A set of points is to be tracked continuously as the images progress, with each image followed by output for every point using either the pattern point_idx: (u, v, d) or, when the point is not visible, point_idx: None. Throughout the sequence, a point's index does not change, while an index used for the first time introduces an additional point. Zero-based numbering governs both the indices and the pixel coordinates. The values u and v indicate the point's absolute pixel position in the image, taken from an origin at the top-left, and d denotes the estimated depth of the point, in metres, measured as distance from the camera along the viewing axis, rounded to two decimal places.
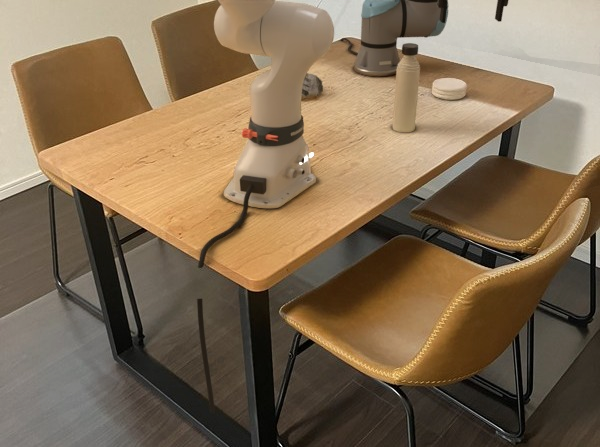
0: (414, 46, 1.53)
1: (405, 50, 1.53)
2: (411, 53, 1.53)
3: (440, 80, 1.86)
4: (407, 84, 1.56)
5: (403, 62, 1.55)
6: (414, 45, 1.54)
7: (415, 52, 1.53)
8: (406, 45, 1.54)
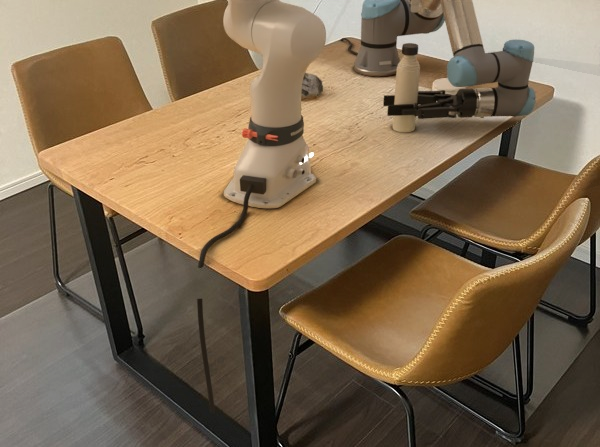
0: (414, 46, 1.53)
1: (405, 50, 1.53)
2: (411, 53, 1.53)
3: (440, 80, 1.86)
4: (407, 84, 1.56)
5: (403, 62, 1.55)
6: (414, 45, 1.54)
7: (415, 52, 1.53)
8: (406, 45, 1.54)
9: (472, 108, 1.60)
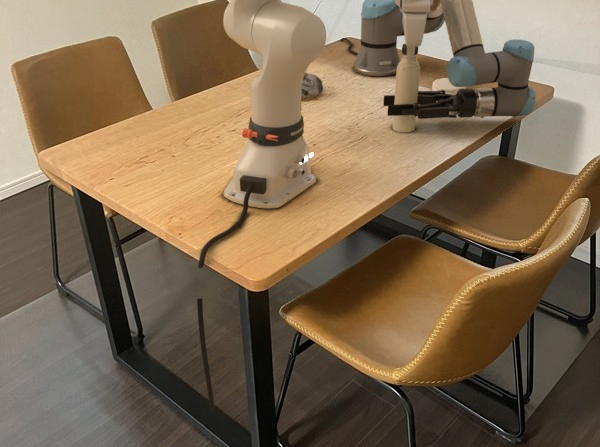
0: None
1: (405, 50, 1.53)
2: None
3: (440, 80, 1.86)
4: (407, 84, 1.56)
5: (403, 62, 1.55)
6: None
7: (415, 51, 1.53)
8: None
9: (472, 108, 1.60)
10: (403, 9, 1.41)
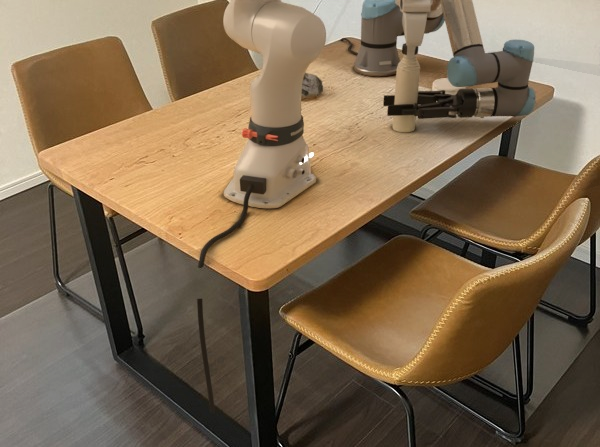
0: None
1: (415, 50, 1.53)
2: None
3: (440, 80, 1.86)
4: (407, 84, 1.56)
5: (403, 62, 1.55)
6: None
7: None
8: None
9: (472, 108, 1.60)
10: (403, 9, 1.41)
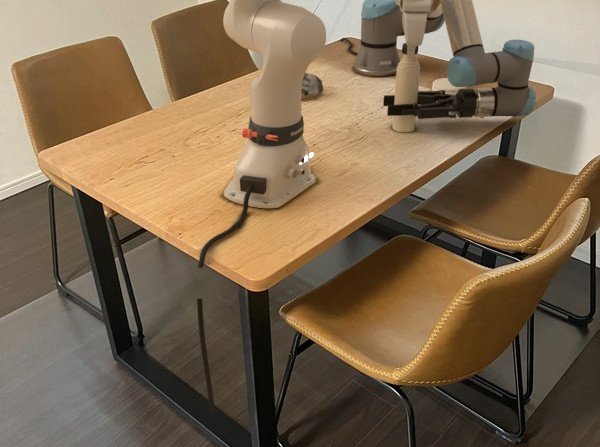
0: None
1: None
2: None
3: (440, 80, 1.86)
4: (407, 84, 1.56)
5: (403, 62, 1.55)
6: None
7: None
8: None
9: (472, 108, 1.60)
10: (404, 9, 1.41)
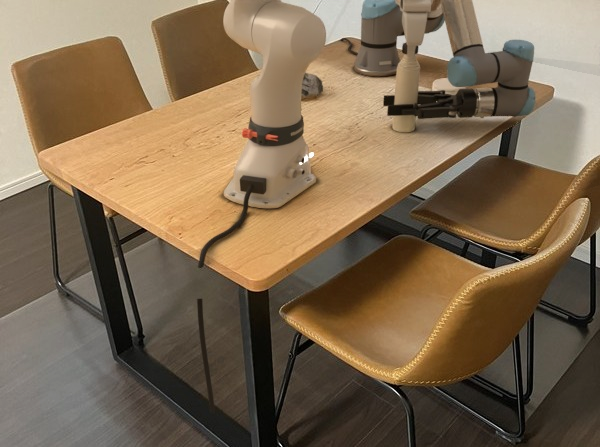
0: (405, 44, 1.54)
1: None
2: None
3: (440, 80, 1.86)
4: (407, 84, 1.56)
5: (403, 62, 1.55)
6: None
7: (402, 49, 1.55)
8: None
9: (472, 108, 1.60)
10: (404, 8, 1.41)
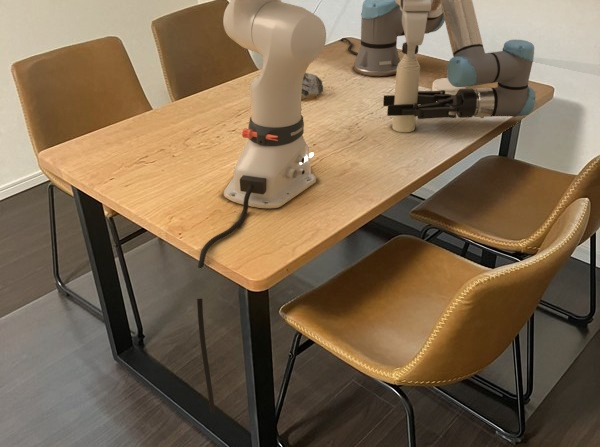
0: None
1: (402, 47, 1.55)
2: (404, 51, 1.54)
3: (440, 80, 1.86)
4: (407, 84, 1.56)
5: (403, 62, 1.55)
6: None
7: None
8: None
9: (472, 108, 1.60)
10: (404, 8, 1.41)
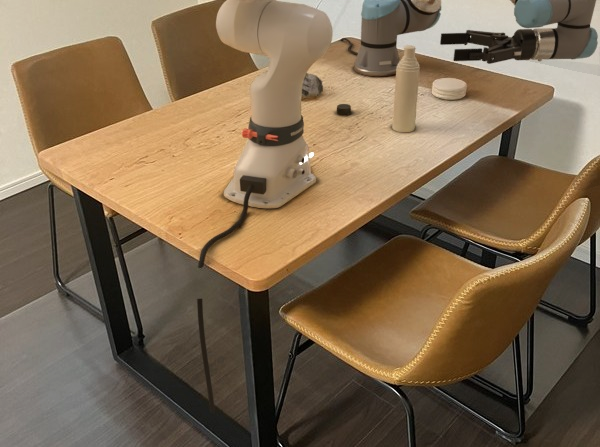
0: (347, 105, 1.75)
1: (349, 110, 1.73)
2: (350, 110, 1.75)
3: (440, 80, 1.86)
4: (407, 84, 1.56)
5: (403, 62, 1.55)
6: (344, 104, 1.75)
7: None
8: (344, 107, 1.73)
9: (531, 49, 1.52)
10: None
